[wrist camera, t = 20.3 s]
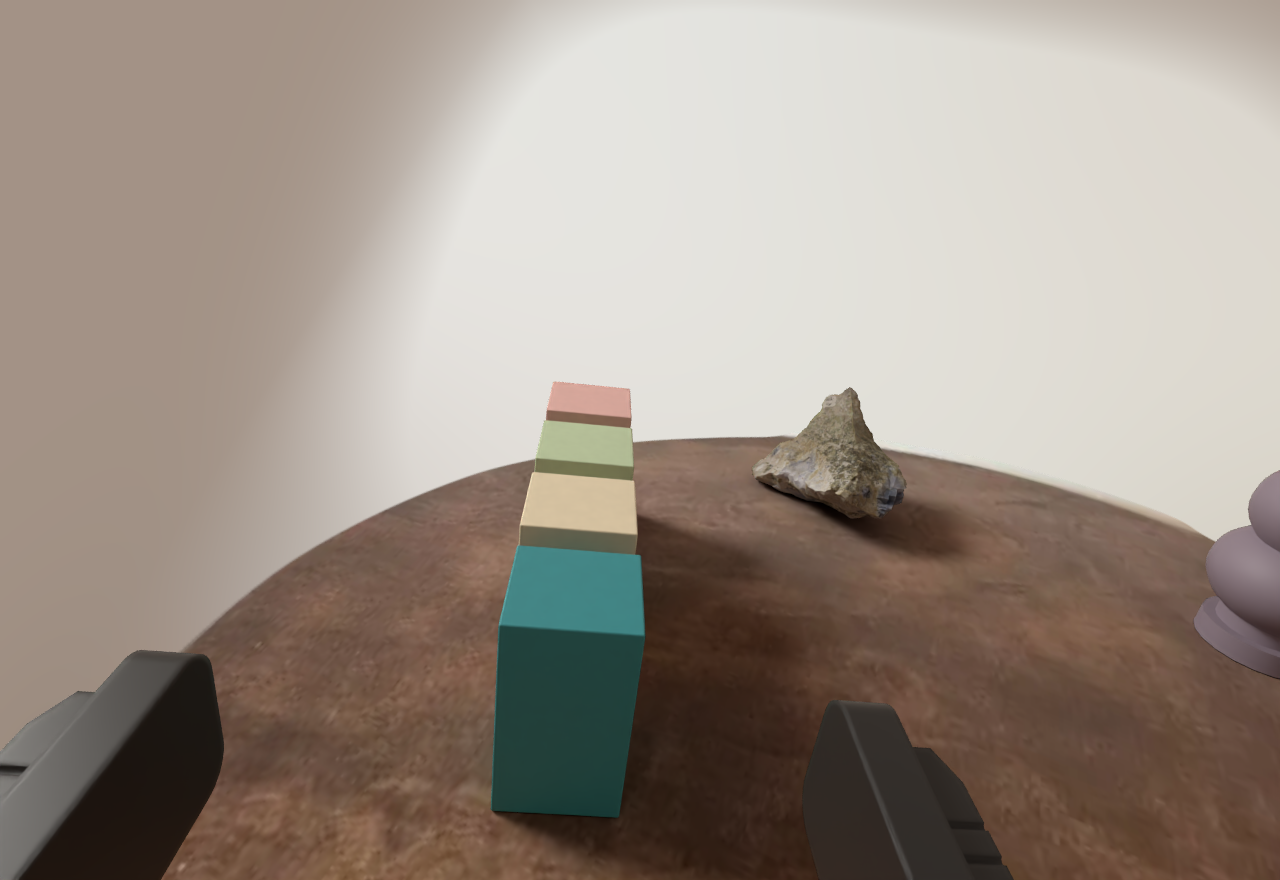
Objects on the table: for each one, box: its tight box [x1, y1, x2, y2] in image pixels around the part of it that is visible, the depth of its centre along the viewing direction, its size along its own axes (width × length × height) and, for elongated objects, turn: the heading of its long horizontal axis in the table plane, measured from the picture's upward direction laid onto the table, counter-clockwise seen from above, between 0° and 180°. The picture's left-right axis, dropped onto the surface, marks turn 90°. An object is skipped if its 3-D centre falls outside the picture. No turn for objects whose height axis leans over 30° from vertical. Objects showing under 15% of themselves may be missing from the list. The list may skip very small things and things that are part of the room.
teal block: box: [491, 545, 645, 818], centre depth 28 cm, size 5×5×9 cm
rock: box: [752, 387, 907, 518], centre depth 54 cm, size 11×6×10 cm
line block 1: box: [546, 382, 631, 428], centre depth 46 cm, size 5×5×9 cm
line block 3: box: [519, 472, 638, 555], centre depth 34 cm, size 5×5×9 cm
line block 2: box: [535, 420, 634, 481], centre depth 40 cm, size 5×5×9 cm
